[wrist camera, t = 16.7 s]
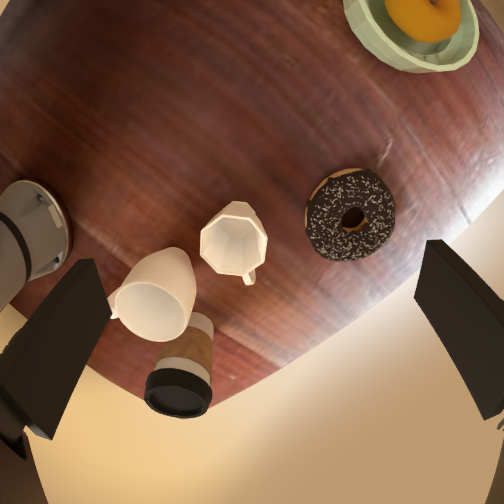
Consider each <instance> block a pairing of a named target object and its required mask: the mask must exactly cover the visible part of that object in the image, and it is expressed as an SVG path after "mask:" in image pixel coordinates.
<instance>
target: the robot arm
mask: <svg viewBox="0 0 504 504" xmlns="http://www.w3.org/2000/svg"><path fill="white" fill-rule="evenodd" d="M72 243H73V230H72V224H71V220H70V217H69V214H68V211H67V209H66V207H65V205H64V203H63V201H62V200H61V198H60V197H59V195H58V194H57V193H56V192H55V191H54V190H53V189H52V188H51V187H50V186H49V185H48V184H46V183H45V182H43V181H41V180H39V179H36V178H24V179H21V180H19V181H17V182H15V183H13V184H11V185H10V186H9V187H7V189H6V190H5V191H4V192H3V193H2V195H1V196H0V312H1V311H2V310H3V309H4V308H5V307H6V305H7V304H8V303H9V302H10V301H11V300H12V299H13V297H14V296H15V295H16V294H17V293H18V292H19V291H20V290H21V289H22V287H23V286H24V285H25V284H26V283H27V282H28V281H30V280H33V279H36V278H38V277H41V276H43V275H46V274H48V273H51V272H53V271H55V270H57V269H58V268H59V267H60V266H61V265H62V264H63V263H64V262H65V261H66V259H67V258H68V256H69V254H70V252H71V249H72ZM414 299H415V300H416V302H417V303H418V305H419V306H420V308H421V309H422V311H423V313H424V314H425V315H426V317H427V319H428V320H429V322H430V324H431V325H432V327H433V328H434V330H435V332H436V333H437V335H438V337H439V338H440V340H441V341H442V343H443V345H444V346H445V348H446V350H447V352H448V353H449V355H450V357H451V359H452V360H453V362H454V364H455V366H456V367H457V369H458V371H459V373H460V374H461V376H462V378H463V380H464V382H465V384H466V386H467V388H468V389H469V391H470V393H471V395H472V397H473V399H474V401H475V403H476V405H477V407H478V409H479V411H480V413H481V415H482V417H483V419H484V420H487V419H489V418H491V417H494V416H496V415H498V414H500V413H501V412H502V411H503V409H504V301H503V300H502V299H500V298H499V297H498V295H497V294H496V293H495V292H494V291H493V290H492V289H491V288H490V287H489V286H488V285H487V284H486V283H485V281H484V280H483V279H482V278H480V276H479V275H478V274H477V273H476V272H475V271H474V270H473V269H472V268H471V267H470V266H469V265H468V264H467V263H466V262H465V261H464V260H463V259H462V258H461V257H460V256H459V255H458V254H457V253H456V252H455V251H453V250H452V249H451V248H450V247H449V246H448V245H447V244H446V243H445V242H444V241H443V240H442V239H441V240H427V242H426V247H425V252H424V257H423V261H422V266H421V270H420V275H419V279H418V283H417V287H416V291H415V295H414ZM112 314H113V313H112V310H111V308H110V305H109V302H108V300H107V297H106V294H105V292H104V289H103V286H102V283H101V280H100V277H99V274H98V271H97V268H96V265H95V262H94V259H79V260H78V261H77V262H76V263H75V264H74V265H73V266H72V267H71V268H70V270H69V271H68V272H67V273H66V274H65V275H64V276H63V278H62V279H61V280H60V281H59V282H58V283H57V285H56V286H55V287H54V288H53V289H52V291H51V292H50V293H49V294H48V295H47V297H46V298H45V299H44V300H43V302H42V303H41V304H40V305H39V307H38V308H37V309H36V310H35V312H34V313H33V314H32V315H31V317H30V318H29V319H28V321H27V322H26V323H25V325H24V326H23V327H22V328H21V329H20V330H19V331H18V332H16V333H15V335H14V336H13V337H12V338H11V340H10V341H9V343H8V345H6V347H5V349H4V350H3V353H1V354H0V504H48V502H47V499H46V496H45V493H44V490H43V488H42V485H41V482H40V479H39V476H38V472H37V469H36V466H35V463H34V459H33V455H32V452H31V448H30V444H29V440H28V437H27V435H26V433H25V432H24V431H23V429H24V427H25V425H27V427H28V428H29V429H30V430H31V431H32V432H33V433H34V434H35V435H38V436H40V437H43V438H46V439H49V440H52V439H53V437H54V434H55V432H56V429H57V427H58V425H59V422H60V420H61V418H62V415H63V413H64V410H65V408H66V406H67V404H68V402H69V399H70V397H71V395H72V393H73V391H74V388H75V386H76V384H77V382H78V380H79V378H80V376H81V374H82V371H83V370H84V368H85V365H86V364H87V362H88V360H89V358H90V356H91V354H92V352H93V350H94V348H95V346H96V344H97V342H98V340H99V338H100V336H101V334H102V332H103V330H104V329H105V327H106V325H107V323H108V321H109V319H110V318H111V316H112ZM503 425H504V418H503V420H502V421H501V422H500V423H499V424H498V427H497V429H498V430H499V429H500V428H501V427H502V426H503ZM503 431H504V429H503ZM485 504H504V440H503V444H502V449H501V453H500V457H499V461H498V465H497V468H496V472H495V475H494V479H493V482H492V485H491V488H490V491H489V494H488V497H487V500H486V503H485Z"/></svg>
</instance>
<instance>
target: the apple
mask: <svg viewBox="0 0 504 504" xmlns="http://www.w3.org/2000/svg"><path fill="white" fill-rule="evenodd" d="M384 4H385V8H386V10H387V13H388V15H389V17H390V18H391V20H392V21H393V22H394V23H395V24H396V25H397V26H398V27H399V28H400V29H401V30H402V31H403V32H404V33H405V34H406V35H408V36H409V37H411V38H412V39H414V40H416V41H419V42H422V43H436V42H439V41H442V40H445V39H448V38H449V37H451V36H452V35H454V34H455V33H456V32H457V30H458V28H459V25H460V22H461V8H460V4H459V0H384Z"/></svg>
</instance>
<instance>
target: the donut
mask: <svg viewBox="0 0 504 504" xmlns="http://www.w3.org/2000/svg"><path fill="white" fill-rule="evenodd" d="M306 203H307V207H306V211H305V228H306V230H305V232H306V234H307V236H308V237H309V239H310V241H311V244H312V246H313V247H314V249H315V251H316V252H318V253H319V254H320V255H321V256H322V257H324V258H326V259H329V260H332V261H341V262H342V261H345V262H346V261H347V262H348V261H356V260H359V259H362V258H365V257H368V256H369V255H371V254H372V253H374V252H375V251H377V250H378V249H379V248H380V247H381V246H382V245H383V244H385V243H386V241H387V240H388V238H389V237H390V236H391V234H392V232H393V230H394V225H395V204H394V199H393V196H392V194H391V192H390V190H389V189H388V187H387V186H386V185H385V183H384V182H383V181H382V179H381V178H380V177H379V176H378V175H377V174H375V173H374V172H372V171H371V170H370V169H367V170H363V169H360V168H354V169H344V170H341V171H339V172H336V173H333V174H332V175H330V176H329V177H327V178H326V179H324V180H323V181H322V182H321V183H320V185H319V186H318V187H317V188H316V189H315V190H314V192H313V193H312V195H311V197H310V199H309V200H307V202H306ZM353 207H359V208H360V209H361V210H362V211H363V214H364V216H365V217H364V219H363V221H362V222H361V223H360V224H359V225H358V226H356V227H354V228H344V227H342V220H343V219H342V217H343V215H344V213H345V212H346V211H347V210H348V209H350V208H353Z"/></svg>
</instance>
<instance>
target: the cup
mask: <svg viewBox="0 0 504 504" xmlns="http://www.w3.org/2000/svg"><path fill="white" fill-rule="evenodd" d="M267 239H268V238H267V235H266V233H265V231H264V228H263V226H262V223H261V221H260V220H259V219H258V217H257V216H256V212H255V211H254V210H253V209H252V208H251V207H250V205H249V204H248V203H247V202H239V201H232V202H231V203H230V204H228V205H227V206H226V207H224V208H223V209H222V211H220V212H219V213H218V214H216V215H215V216H214V217H213V218H212V219H211V220H210V221H209V223H208V224H207V225H206V226H205V227H204V228H203V229H202V230H201V241H200V256H201V257H202V258H203V259H204V260H205V261H206V262H207V263H208V264H209V265H210V266H211V267H212V268H213V269H214V270H215V271H216V272H217V273H220V274H229V275H238V276H242V278H243V280H244V283H245V284H246V285H252V284H254V283H255V277H256V276H255V268H256V267H258V266H259V265H261V264H262V263H264V260H265V253H266V246H267Z"/></svg>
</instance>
